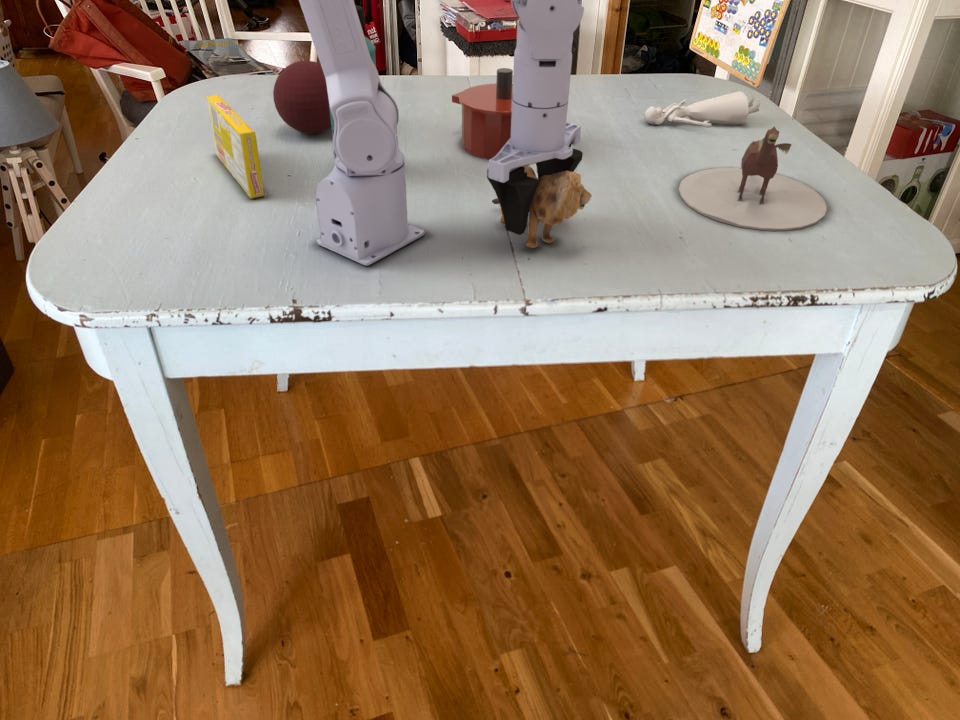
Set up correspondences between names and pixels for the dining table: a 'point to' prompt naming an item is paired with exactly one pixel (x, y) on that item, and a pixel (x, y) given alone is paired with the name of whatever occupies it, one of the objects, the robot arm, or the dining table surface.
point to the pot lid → (491, 95)
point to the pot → (483, 132)
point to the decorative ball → (303, 97)
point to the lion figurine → (553, 202)
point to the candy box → (236, 146)
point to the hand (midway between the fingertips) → (532, 221)
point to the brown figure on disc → (754, 192)
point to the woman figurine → (707, 111)
